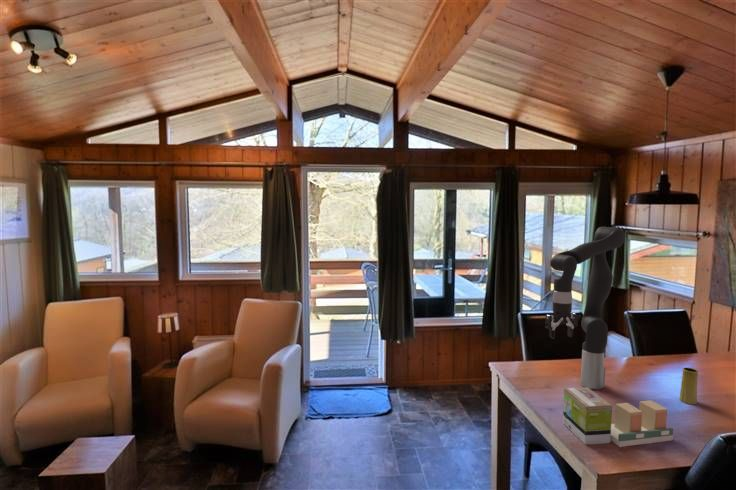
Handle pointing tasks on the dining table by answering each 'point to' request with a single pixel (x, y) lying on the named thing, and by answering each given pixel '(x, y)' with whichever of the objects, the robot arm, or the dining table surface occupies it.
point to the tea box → (587, 415)
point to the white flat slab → (640, 436)
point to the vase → (689, 386)
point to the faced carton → (653, 415)
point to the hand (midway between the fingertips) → (561, 337)
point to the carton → (627, 418)
